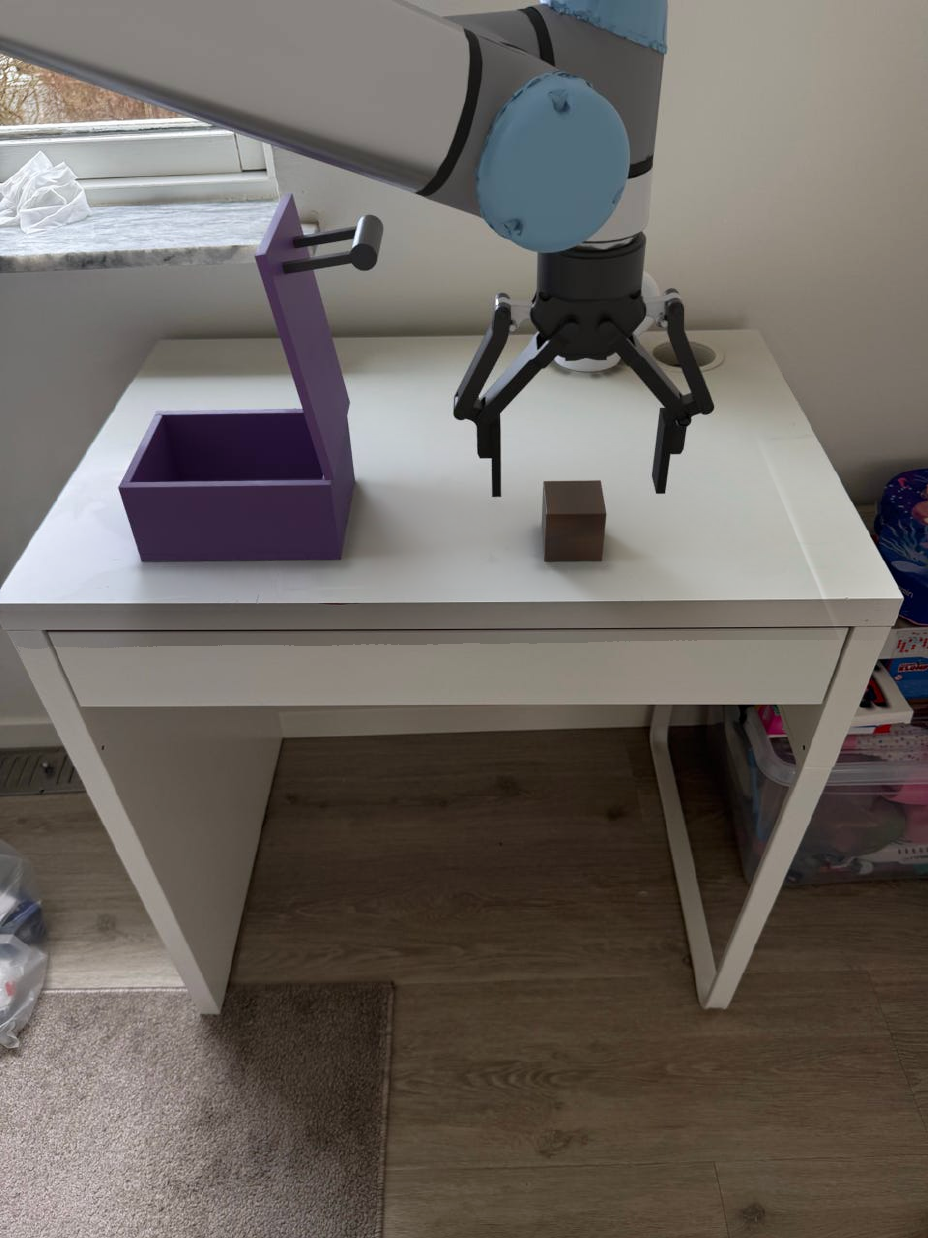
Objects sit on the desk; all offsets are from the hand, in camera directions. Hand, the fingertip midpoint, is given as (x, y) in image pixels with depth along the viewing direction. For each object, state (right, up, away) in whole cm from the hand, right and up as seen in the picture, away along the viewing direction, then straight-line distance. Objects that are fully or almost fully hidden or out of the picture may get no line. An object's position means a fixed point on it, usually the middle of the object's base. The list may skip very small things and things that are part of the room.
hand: (577, 486), depth 80 cm
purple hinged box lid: (-22, +11, -4) cm, 25 cm away
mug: (+7, +19, +31) cm, 37 cm away
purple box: (-29, -2, +8) cm, 30 cm away
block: (0, -4, +4) cm, 6 cm away
